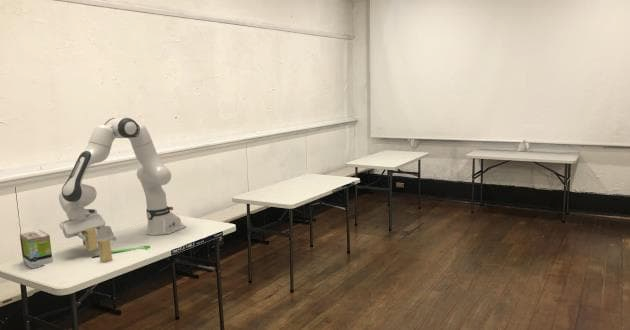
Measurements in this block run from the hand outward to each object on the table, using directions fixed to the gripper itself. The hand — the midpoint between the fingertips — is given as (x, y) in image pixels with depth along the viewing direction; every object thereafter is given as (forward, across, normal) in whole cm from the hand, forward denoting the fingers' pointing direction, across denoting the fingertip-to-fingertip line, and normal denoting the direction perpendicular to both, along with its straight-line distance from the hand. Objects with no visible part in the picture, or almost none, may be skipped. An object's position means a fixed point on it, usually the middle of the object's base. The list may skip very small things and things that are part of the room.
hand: (91, 238), depth 253 cm
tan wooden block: (+15, -1, -3) cm, 16 cm away
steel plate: (+12, -1, +2) cm, 12 cm away
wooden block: (+3, 0, +4) cm, 5 cm away
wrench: (+12, +12, +1) cm, 18 cm away
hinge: (-8, +14, +22) cm, 27 cm away
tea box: (-5, -20, +18) cm, 27 cm away
